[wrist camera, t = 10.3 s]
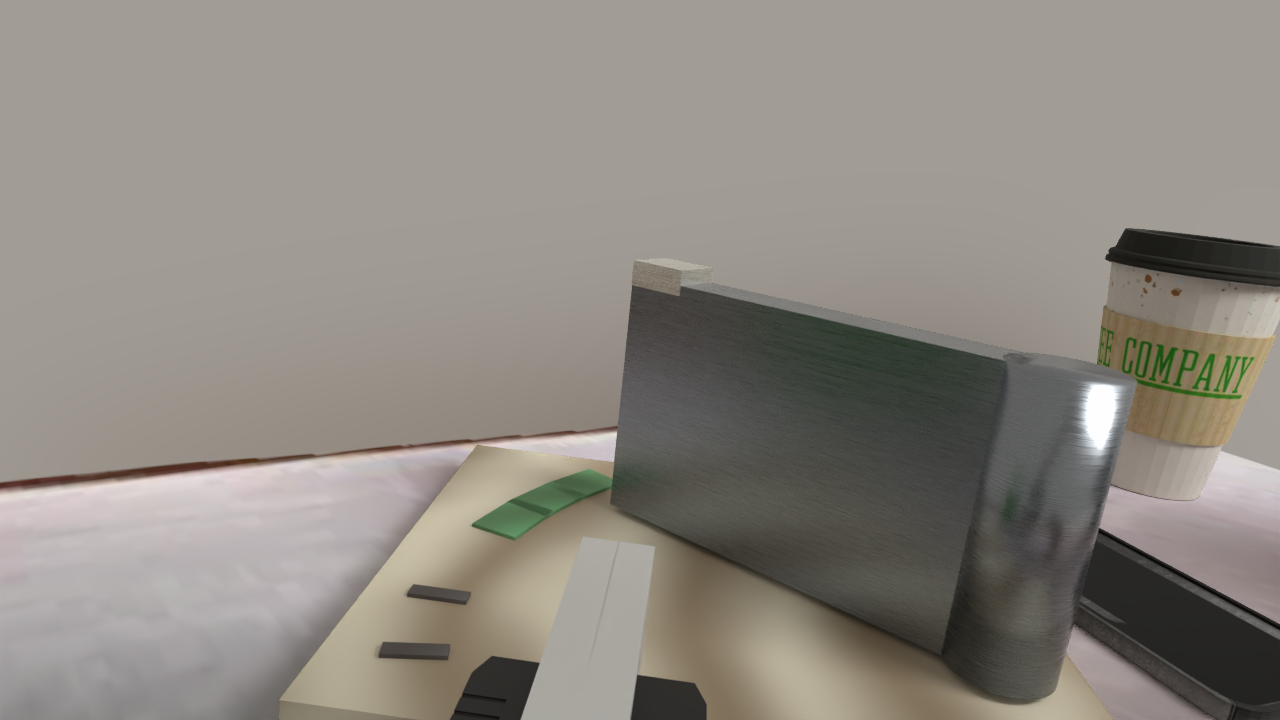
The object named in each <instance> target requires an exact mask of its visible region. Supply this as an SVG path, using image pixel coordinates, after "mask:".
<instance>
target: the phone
mask: <svg viewBox="0 0 1280 720" xmlns="http://www.w3.org/2000/svg"><path fill="white" fill-rule="evenodd" d="M1074 622H1075V623H1076V624H1077V625H1079V626H1080V627H1082V628H1083V629H1085V630H1086V631H1088V632H1089V633H1091V634H1092V635H1094V636H1095V637H1096V638H1098V639H1099V640H1101V641H1102V642H1104V643H1105V644H1107V645H1108V646H1110V647H1111V648H1113V649H1114V650H1115V651H1117V652H1118V653H1120V654H1121V655H1123V656H1124V657H1126V658H1127V659H1129V660H1130V661H1132V662H1133V663H1134V664H1136V665H1137V666H1139V667H1140V668H1142V669H1143V670H1145V671H1146V672H1148V673H1149V674H1151V675H1152V676H1153V677H1155V678H1156V679H1158V680H1159V681H1161V682H1162V683H1164V684H1165V685H1167V686H1168V687H1170V688H1171V689H1172V690H1174V691H1175V692H1177V693H1178V694H1180V695H1181V696H1183V697H1184V698H1186V699H1187V700H1189V701H1190V702H1192V703H1193V704H1194V705H1196V706H1197V707H1199V708H1200V709H1202V710H1203V711H1205V712H1206V713H1208V714H1209V715H1211V716H1213V717H1214V718H1216V719H1218V720H1280V624H1278V623H1276V622H1274V621H1273V620H1271V619H1269V618H1267V617H1265V616H1263V615H1261V614H1259V613H1258V612H1256V611H1254V610H1252V609H1250V608H1248V607H1246V606H1244V605H1243V604H1241V603H1239V602H1237V601H1235V600H1233V599H1231V598H1230V597H1228V596H1226V595H1224V594H1222V593H1220V592H1218V591H1216V590H1215V589H1213V588H1211V587H1209V586H1207V585H1205V584H1203V583H1201V582H1200V581H1198V580H1196V579H1194V578H1192V577H1190V576H1188V575H1186V574H1185V573H1183V572H1181V571H1179V570H1177V569H1175V568H1173V567H1172V566H1170V565H1168V564H1166V563H1164V562H1162V561H1160V560H1158V559H1157V558H1155V557H1153V556H1151V555H1149V554H1147V553H1145V552H1143V551H1142V550H1140V549H1138V548H1136V547H1134V546H1132V545H1130V544H1129V543H1127V542H1125V541H1123V540H1121V539H1119V538H1117V537H1115V536H1114V535H1112V534H1110V533H1108V532H1106V531H1104V530H1102V529H1100V528H1099V529H1098V533H1097V537H1096V541H1095V545H1094V548H1093V552H1092V556H1091V560H1090V563H1089V567H1088V571H1087V575H1086V579H1085V582H1084V586H1083V590H1082V594H1081V598H1080V601H1079V605H1078V609H1077V613H1076V616H1075V620H1074Z"/></svg>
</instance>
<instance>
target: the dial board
mask: <svg viewBox="0 0 1280 720" xmlns="http://www.w3.org/2000/svg"><path fill="white" fill-rule="evenodd" d="M613 469H614V462H608V461H600V460H592V459H584V458H576V457H568V456H560V455H552V454H544V453H536V452H528V451H520V450H512V449H504V448H497V447H489V446H481V445H477V446H476V447H475V448H474V450H473V451H472V452H471V454H470V455H469V456H468V457H467V459H466V460H465V461H464V463H463V464H462V465H461V466H460V468H459V469H458V470H457V472H456V473H455V474H454V475H453V477H452V478H451V479H450V481H449V482H448V483H447V484H446V486H445V487H444V488H443V489H442V491H441V492H440V493H439V495H438V496H437V497H436V498H435V500H434V501H433V502H432V504H431V505H430V506H429V507H428V509H427V510H426V511H425V513H424V514H423V515H422V516H421V518H420V519H419V520H418V522H417V523H416V524H415V525H414V527H413V528H412V529H411V531H410V532H409V533H408V534H407V536H406V537H405V538H404V540H403V541H402V542H401V543H400V545H399V546H398V547H397V549H396V550H395V551H394V552H393V554H392V555H391V556H390V558H389V559H388V560H387V561H386V563H385V564H384V565H383V566H382V568H381V569H380V570H379V572H378V573H377V574H376V575H375V577H374V578H373V579H372V581H371V582H370V583H369V584H368V586H367V587H366V588H365V590H364V591H363V592H362V593H361V595H360V596H359V597H358V599H357V600H356V601H355V602H354V604H353V605H352V606H351V608H350V609H349V610H348V611H347V613H346V614H345V615H344V617H343V618H342V619H341V620H340V622H339V623H338V624H337V626H336V627H335V628H334V629H333V631H332V632H331V633H330V635H329V636H328V637H327V638H326V640H325V641H324V642H323V643H322V645H321V646H320V647H319V649H318V650H317V651H316V652H315V654H314V655H313V656H312V658H311V659H310V660H309V661H308V663H307V664H306V665H305V667H304V668H303V669H302V670H301V672H300V673H299V674H298V676H297V677H296V678H295V679H294V681H293V682H292V683H291V685H290V686H289V687H288V688H287V690H286V691H285V692H284V694H283V695H282V696H281V697H280V699H279V720H450V718H451V716H452V714H454V710H455V707H456V705H457V703H458V701H459V699H460V697H462V692H463V690H464V688H465V686H466V684H467V682H468V679H469V677H470V675H471V673H472V672H473V671H474V670H475V669H476V668H478V667H479V666H480V665H481V664H483V663H484V662H485V661H486V660H487V659H489V658H490V657H491V656H497V657H504V658H511V659H518V660H525V661H532V662H538V663H540V661H541V658H542V655H543V653H544V650H545V647H546V644H547V641H548V638H549V635H550V632H551V629H552V626H553V623H554V620H555V617H556V614H557V611H558V608H559V605H560V602H561V599H562V597H563V594H564V591H565V588H566V585H567V582H568V579H569V576H570V573H571V570H572V567H573V564H574V561H575V558H576V555H577V552H578V549H579V546H580V544H581V541H582V538H583V537H590V538H598V539H605V540H612V541H620V542H627V543H634V544H642V545H649V546H655V552H654V560H653V569H652V577H651V585H650V594H649V602H648V610H647V619H646V627H645V635H644V644H643V652H642V660H641V668H640V675H643V676H650V677H657V678H663V679H670V680H677V681H684V682H691V683H695V684H696V686H697V688H698V689H699V691H700V693H701V695H702V697H703V698H704V700H705V702H706V704H707V720H1114V719H1113V718H1112V717H1111V715H1110V714H1109V712H1108V711H1107V710H1106V708H1105V707H1104V705H1103V704H1102V703H1101V701H1100V700H1099V698H1098V697H1097V696H1096V694H1095V693H1094V691H1093V690H1092V689H1091V687H1090V686H1089V684H1088V683H1087V682H1086V680H1085V679H1084V678H1083V676H1082V675H1081V673H1080V672H1079V671H1078V669H1077V668H1076V666H1075V665H1074V664H1073V662H1072V661H1071V659H1070V658H1069V657H1068V655H1067V654H1065V658H1064V662H1063V666H1062V669H1061V673H1060V677H1059V681H1058V684H1057V688H1056V690H1055V691H1054V693H1052V694H1051V695H1050V696H1047V697H1045V698H1041V699H1035V700H1023V699H1014V698H1009V697H1004V696H1001V695H997V694H994V693H991V692H988V691H986V690H983V689H981V688H979V687H977V686H975V685H973V684H971V683H969V682H968V681H966V680H964V679H963V678H961V677H960V676H958V675H957V674H956V673H955V672H953V671H952V670H951V669H950V668H949V667H948V666H947V664H946V663H945V662H944V661H943V659H942V657H941V655H939V654H937V653H934V652H932V651H930V650H928V649H926V648H923V647H921V646H919V645H917V644H915V643H912V642H910V641H908V640H906V639H904V638H902V637H899V636H897V635H895V634H893V633H891V632H888V631H886V630H884V629H882V628H880V627H877V626H875V625H873V624H871V623H869V622H867V621H864V620H862V619H860V618H858V617H856V616H853V615H851V614H849V613H847V612H845V611H843V610H840V609H838V608H836V607H834V606H832V605H829V604H827V603H825V602H823V601H821V600H818V599H816V598H814V597H812V596H810V595H808V594H805V593H803V592H801V591H799V590H797V589H794V588H792V587H790V586H788V585H786V584H783V583H781V582H779V581H777V580H775V579H773V578H770V577H768V576H766V575H764V574H762V573H759V572H757V571H755V570H753V569H751V568H748V567H746V566H744V565H742V564H740V563H738V562H735V561H733V560H731V559H729V558H727V557H724V556H722V555H720V554H718V553H716V552H713V551H711V550H709V549H707V548H705V547H703V546H700V545H698V544H696V543H694V542H692V541H689V540H687V539H685V538H683V537H681V536H679V535H676V534H674V533H672V532H670V531H668V530H665V529H663V528H661V527H659V526H657V525H654V524H652V523H650V522H648V521H646V520H644V519H641V518H639V517H637V516H635V515H633V514H630V513H628V512H626V511H624V510H622V509H619V508H617V507H615V506H613V505H611V504H610V499H611V489H612V479H613Z"/></svg>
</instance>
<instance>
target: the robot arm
mask: <svg viewBox="0 0 1280 720" xmlns="http://www.w3.org/2000/svg"><path fill="white" fill-rule="evenodd" d="M654 552H655V546H649V545H642V544H634V543H627V542H620V541H612V540H605V539H598V538H590V537H583V538H582V541H581V544H580V546H579V549H578V552H577V555H576V558H575V561H574V564H573V567H572V570H571V573H570V576H569V579H568V582H567V585H566V588H565V591H564V594H563V597H562V599H561V602H560V605H559V608H558V611H557V614H556V617H555V620H554V623H553V626H552V629H551V632H550V635H549V638H548V641H547V644H546V647H545V650H544V653H543V655H542V658H541V661H540V663H538V662H532V661H525V660H518V659H511V658H504V657H497V656H491V657H490V658H489V659H487V660H486V661H485V662H484V663H483V664H481V665H480V666H479V667H478V668H476V669H475V670H474V671H473V672H472V673H471V675H470V677H469V679H468V682H467V684H466V686H465V688H464V690H463V692H462V697H460V699H459V701H458V703H457V705H456V707H455V710H454V714H452V716H451V718H450V720H707V704H706V702H705V700H704V698H703V697H702V695H701V693H700V691H699V689H698V688H697V686H696V684H695V683H691V682H684V681H677V680H670V679H663V678H657V677H650V676H643V675H640V668H641V660H642V652H643V644H644V635H645V627H646V619H647V610H648V602H649V594H650V585H651V577H652V569H653V560H654Z"/></svg>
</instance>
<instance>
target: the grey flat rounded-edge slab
mask: <svg viewBox="0 0 1280 720" xmlns="http://www.w3.org/2000/svg"><path fill="white" fill-rule="evenodd" d="M712 274H713V268H711V267H706V266H701V265H696V264H691V263H687V262H682V261H677V260H672V259H668V258H661V259H644V260H634V266H633V275H632V293H631V303H630V313H629V323H628V332H627V342H626V352H625V363H624V372H623V382H622V391H621V401H620V411H619V421H618V430H617V440H616V450H615V460H614V469H613V479H612V489H611V499H610V504H611V505H613V506H615V507H617V508H619V509H622V510H624V511H626V512H628V513H630V514H633V515H635V516H637V517H639V518H641V519H644V520H646V521H648V522H650V523H652V524H654V525H657V526H659V527H661V528H663V529H665V530H668V531H670V532H672V533H674V534H676V535H679V536H681V537H683V538H685V539H687V540H689V541H692V542H694V543H696V544H698V545H700V546H703V547H705V548H707V549H709V550H711V551H713V552H716V553H718V554H720V555H722V556H724V557H727V558H729V559H731V560H733V561H735V562H738V563H740V564H742V565H744V566H746V567H748V568H751V569H753V570H755V571H757V572H759V573H762V574H764V575H766V576H768V577H770V578H773V579H775V580H777V581H779V582H781V583H783V584H786V585H788V586H790V587H792V588H794V589H797V590H799V591H801V592H803V593H805V594H808V595H810V596H812V597H814V598H816V599H818V600H821V601H823V602H825V603H827V604H829V605H832V606H834V607H836V608H838V609H840V610H843V611H845V612H847V613H849V614H851V615H853V616H856V617H858V618H860V619H862V620H864V621H867V622H869V623H871V624H873V625H875V626H877V627H880V628H882V629H884V630H886V631H888V632H891V633H893V634H895V635H897V636H899V637H902V638H904V639H906V640H908V641H910V642H912V643H915V644H917V645H919V646H921V647H923V648H926V649H928V650H930V651H932V652H934V653H937V654H939V655H941V657H942V659H943V661H944V662H945V663H946V664H947V666H948V667H949V668H950V669H951V670H952V671H953V672H955V673H956V674H957V675H958V676H960V677H961V678H963V679H964V680H966V681H968V682H969V683H971V684H973V685H975V686H977V687H979V688H981V689H983V690H986V691H988V692H991V693H994V694H997V695H1001V696H1004V697H1009V698H1014V699H1023V700H1035V699H1041V698H1045V697H1047V696H1050V695H1051V694H1052V693H1054V691H1055V690H1056V688H1057V684H1058V681H1059V677H1060V673H1061V669H1062V666H1063V662H1064V658H1065V654H1066V650H1067V647H1068V643H1069V639H1070V635H1071V632H1072V628H1073V624H1074V620H1075V616H1076V613H1077V609H1078V605H1079V601H1080V598H1081V594H1082V590H1083V586H1084V582H1085V579H1086V575H1087V571H1088V567H1089V563H1090V560H1091V556H1092V552H1093V548H1094V545H1095V541H1096V537H1097V533H1098V529H1099V526H1100V522H1101V518H1102V514H1103V511H1104V507H1105V503H1106V499H1107V495H1108V492H1109V488H1110V484H1111V480H1112V477H1113V473H1114V469H1115V465H1116V461H1117V458H1118V454H1119V450H1120V446H1121V443H1122V439H1123V435H1124V431H1125V427H1126V424H1127V420H1128V416H1129V412H1130V409H1131V405H1132V401H1133V397H1134V393H1135V390H1136V386H1137V381H1136V379H1134V378H1133V377H1131V376H1129V375H1127V374H1125V373H1123V372H1120V371H1118V370H1115V369H1112V368H1109V367H1105V366H1102V365H1098V364H1094V363H1090V362H1086V361H1082V360H1077V359H1072V358H1066V357H1060V356H1054V355H1046V354H1038V353H1024V352H1019V351H1015V350H1011V349H1006V348H1002V347H997V346H993V345H988V344H984V343H979V342H975V341H970V340H966V339H961V338H956V337H952V336H948V335H943V334H939V333H934V332H929V331H925V330H921V329H916V328H912V327H907V326H903V325H898V324H894V323H889V322H885V321H880V320H876V319H871V318H867V317H862V316H858V315H853V314H849V313H844V312H840V311H835V310H830V309H826V308H822V307H817V306H812V305H808V304H804V303H799V302H795V301H790V300H786V299H781V298H776V297H772V296H768V295H763V294H758V293H754V292H750V291H745V290H741V289H736V288H731V287H727V286H723V285H718V284H714V283H711V282H712Z"/></svg>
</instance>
